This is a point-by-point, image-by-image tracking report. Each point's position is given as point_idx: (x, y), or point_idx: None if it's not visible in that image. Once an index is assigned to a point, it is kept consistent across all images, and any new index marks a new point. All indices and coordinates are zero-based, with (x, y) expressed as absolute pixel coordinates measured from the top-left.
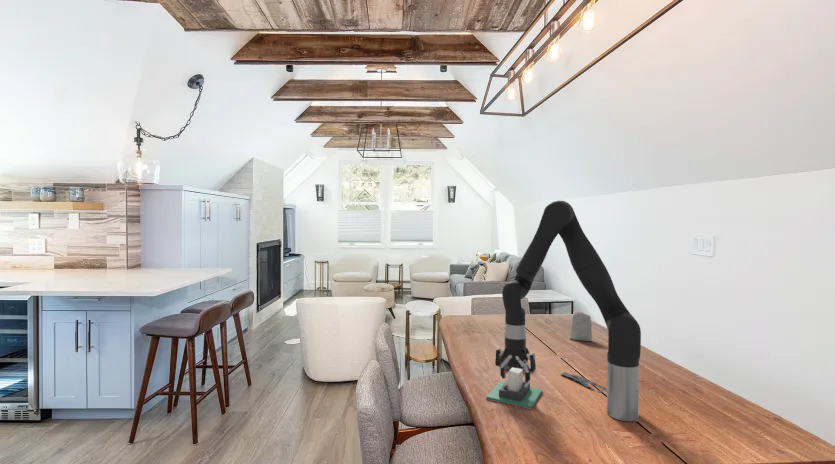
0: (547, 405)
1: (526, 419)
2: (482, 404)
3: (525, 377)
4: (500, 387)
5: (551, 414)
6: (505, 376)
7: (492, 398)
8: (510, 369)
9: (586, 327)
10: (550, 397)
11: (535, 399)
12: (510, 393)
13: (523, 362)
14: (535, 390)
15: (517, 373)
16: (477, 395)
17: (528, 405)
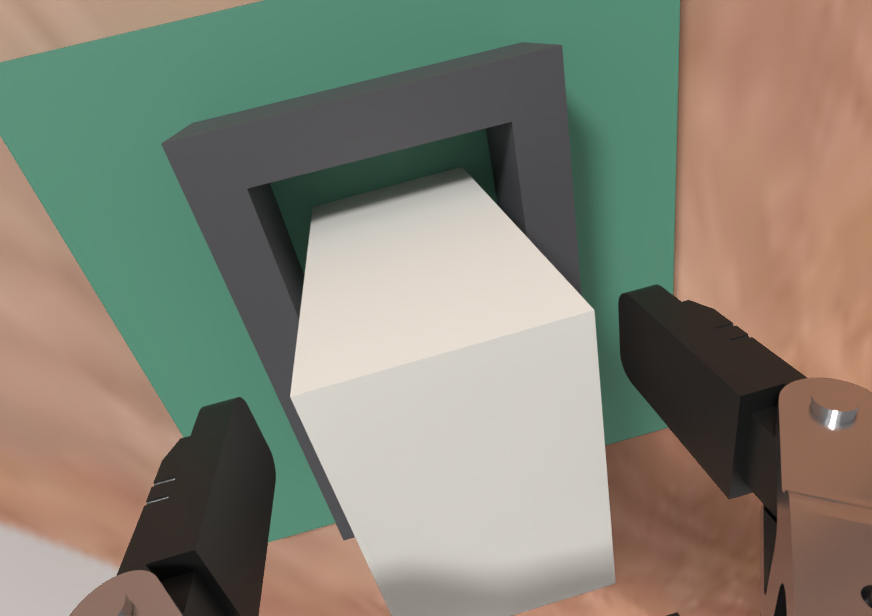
0: (767, 253)
1: (661, 534)
2: (298, 589)
3: (675, 428)
4: (175, 286)
5: (809, 374)
6: (240, 402)
7: (313, 524)
8: (355, 522)
9: None
10: (781, 25)
11: (670, 287)
12: None
13: (816, 602)
14: (604, 28)
15: (581, 567)
16: (127, 523)
17: (643, 432)
